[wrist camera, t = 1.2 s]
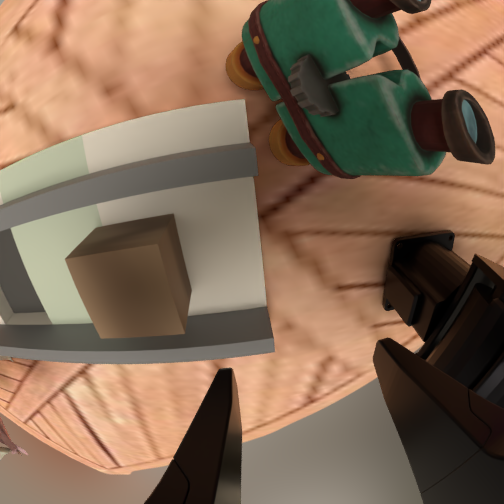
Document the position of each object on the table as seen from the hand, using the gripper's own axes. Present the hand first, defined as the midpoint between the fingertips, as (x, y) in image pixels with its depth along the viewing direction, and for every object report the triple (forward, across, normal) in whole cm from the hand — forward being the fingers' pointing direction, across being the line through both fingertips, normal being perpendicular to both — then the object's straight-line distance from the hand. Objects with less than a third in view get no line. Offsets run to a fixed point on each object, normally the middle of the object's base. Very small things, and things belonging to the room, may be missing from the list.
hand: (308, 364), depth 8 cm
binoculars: (+7, -9, -11) cm, 16 cm away
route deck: (+11, +13, 0) cm, 17 cm away
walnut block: (+9, +8, 0) cm, 12 cm away
